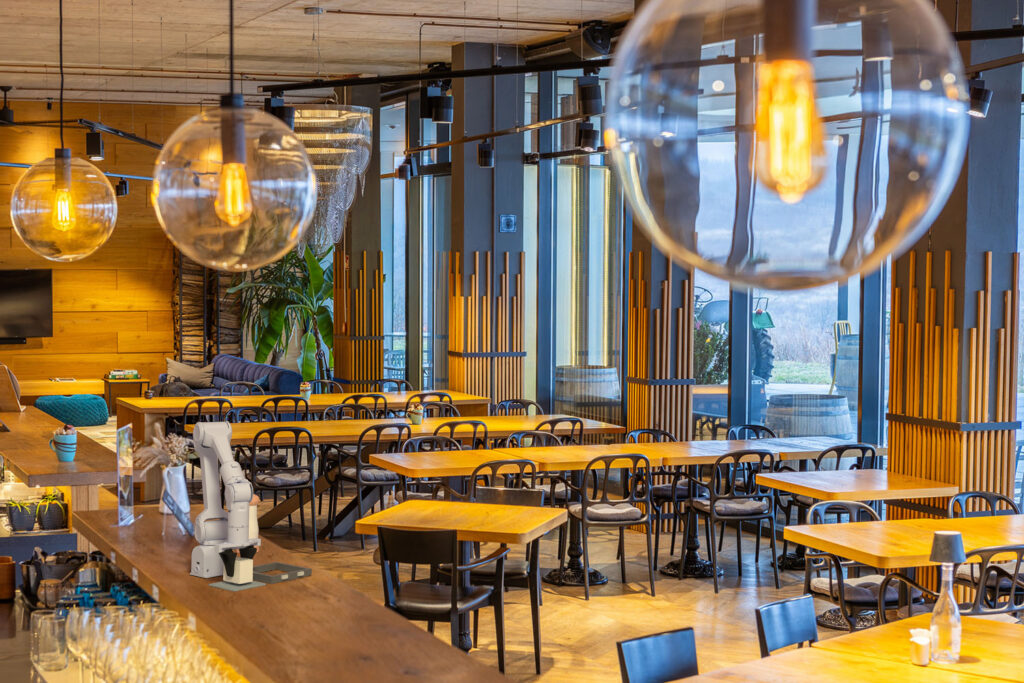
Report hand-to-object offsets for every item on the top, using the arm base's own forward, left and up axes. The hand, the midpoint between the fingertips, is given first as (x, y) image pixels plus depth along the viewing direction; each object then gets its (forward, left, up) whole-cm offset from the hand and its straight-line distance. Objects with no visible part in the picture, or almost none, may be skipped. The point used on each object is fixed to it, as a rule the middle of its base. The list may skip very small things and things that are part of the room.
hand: (237, 574), depth 316 cm
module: (0, 0, -2) cm, 2 cm away
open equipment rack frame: (+15, +2, -3) cm, 15 cm away
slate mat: (0, 0, -3) cm, 3 cm away
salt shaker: (+34, +37, -3) cm, 50 cm away
